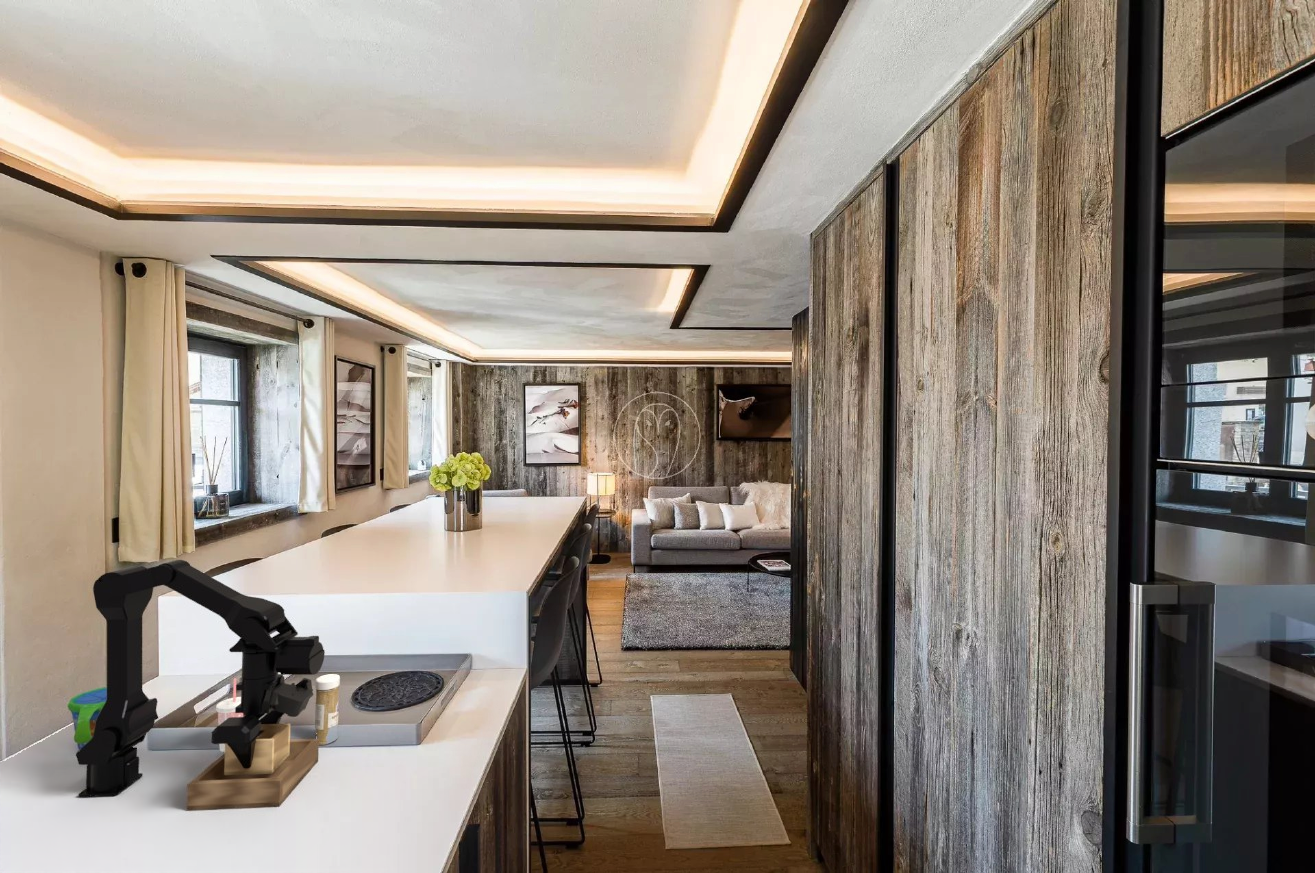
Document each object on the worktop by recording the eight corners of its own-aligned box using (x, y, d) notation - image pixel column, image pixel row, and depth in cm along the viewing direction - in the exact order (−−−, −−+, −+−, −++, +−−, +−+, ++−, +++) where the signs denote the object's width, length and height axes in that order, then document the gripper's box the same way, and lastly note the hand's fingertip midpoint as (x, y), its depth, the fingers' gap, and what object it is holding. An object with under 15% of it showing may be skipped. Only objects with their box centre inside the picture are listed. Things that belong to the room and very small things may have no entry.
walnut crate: (186, 810, 103) (187, 784, 103) (237, 763, 118) (238, 740, 118) (279, 806, 105) (280, 780, 105) (318, 761, 120) (318, 738, 120)
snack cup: (98, 727, 132) (100, 681, 132) (154, 723, 134) (155, 677, 134) (43, 765, 116) (44, 712, 116) (107, 760, 119) (108, 708, 119)
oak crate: (224, 775, 108) (225, 741, 108) (244, 756, 114) (245, 724, 114) (271, 773, 109) (272, 740, 109) (289, 754, 115) (290, 723, 115)
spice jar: (339, 742, 127) (341, 678, 127) (314, 747, 125) (316, 683, 125) (337, 733, 131) (338, 671, 131) (313, 738, 129) (314, 675, 129)
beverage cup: (257, 738, 128) (259, 672, 128) (238, 753, 122) (240, 684, 122) (228, 738, 128) (230, 672, 128) (207, 753, 122) (209, 684, 122)
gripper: (280, 693, 103) (277, 784, 103) (327, 655, 122) (325, 732, 122) (210, 695, 102) (208, 787, 102) (269, 656, 121) (266, 734, 120)
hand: (257, 758), depth 112 cm, fingers closed on oak crate, 6 cm apart
